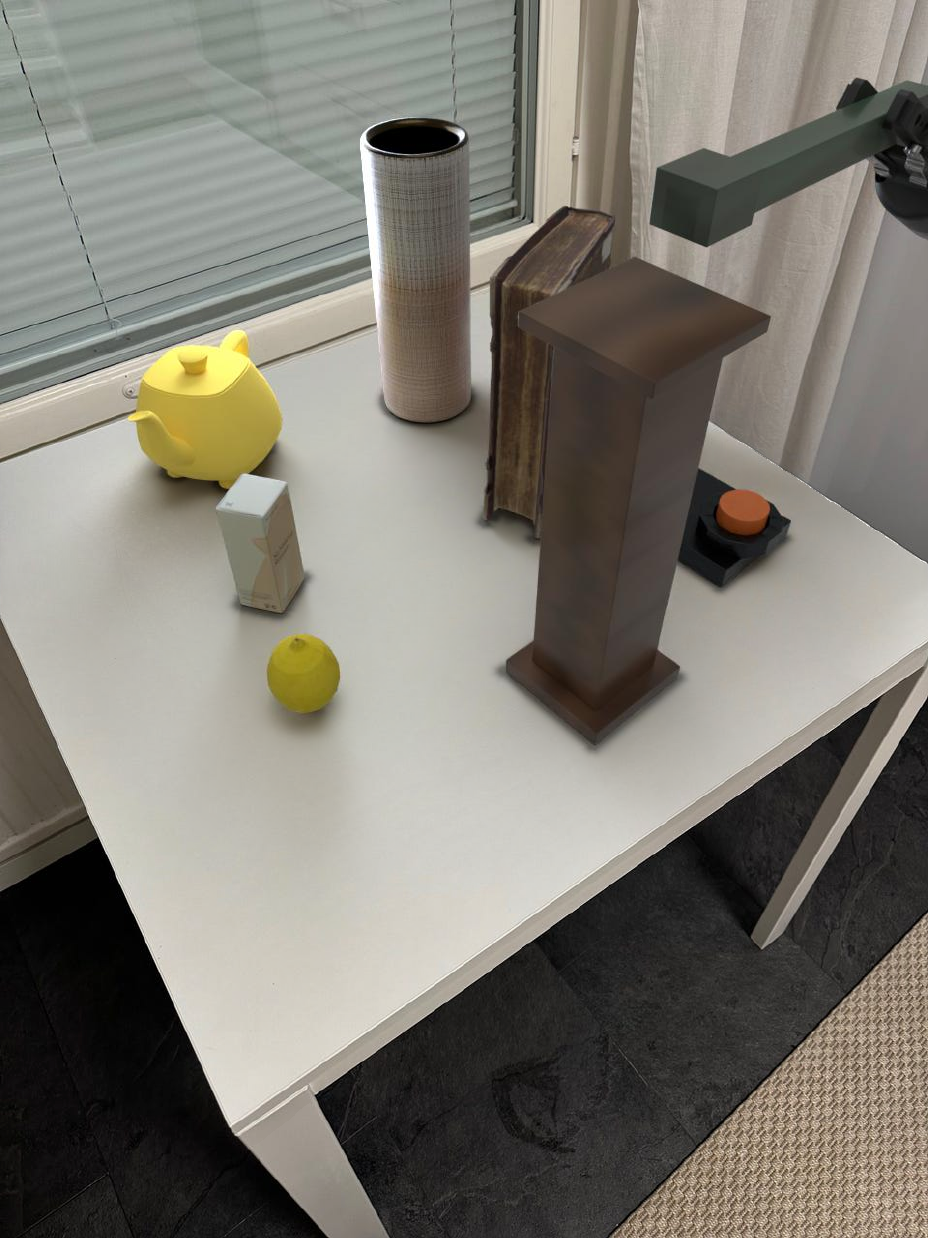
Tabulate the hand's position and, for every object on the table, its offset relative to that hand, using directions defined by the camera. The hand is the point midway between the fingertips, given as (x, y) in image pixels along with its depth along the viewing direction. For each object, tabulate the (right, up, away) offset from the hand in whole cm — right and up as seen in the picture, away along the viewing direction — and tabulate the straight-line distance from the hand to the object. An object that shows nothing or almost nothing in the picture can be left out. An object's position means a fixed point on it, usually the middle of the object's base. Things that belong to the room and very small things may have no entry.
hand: (873, 101), depth 54 cm
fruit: (-37, -38, +18) cm, 56 cm away
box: (-42, -29, +27) cm, 58 cm away
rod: (-4, -5, -1) cm, 7 cm away
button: (0, -22, +27) cm, 35 cm away
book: (-16, -18, +36) cm, 44 cm away
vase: (-29, -7, +47) cm, 56 cm away
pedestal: (-14, -36, +19) cm, 43 cm away
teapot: (-51, -15, +40) cm, 66 cm away
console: (-2, -23, +31) cm, 39 cm away
